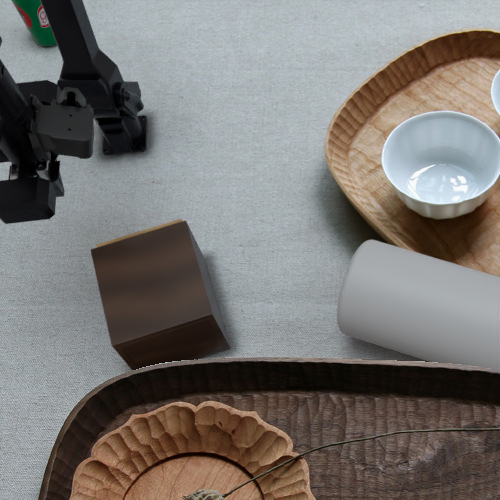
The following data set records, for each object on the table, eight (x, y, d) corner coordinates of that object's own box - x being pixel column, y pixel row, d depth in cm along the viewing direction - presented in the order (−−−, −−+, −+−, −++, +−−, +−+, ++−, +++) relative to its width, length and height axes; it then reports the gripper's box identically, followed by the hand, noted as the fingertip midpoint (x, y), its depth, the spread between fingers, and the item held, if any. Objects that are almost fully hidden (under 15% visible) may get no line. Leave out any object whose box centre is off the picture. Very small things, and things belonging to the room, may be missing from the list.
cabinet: (117, 287, 112) (90, 249, 103) (205, 260, 113) (185, 220, 104) (138, 378, 106) (111, 345, 98) (231, 348, 108) (212, 313, 99)
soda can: (59, 50, 130) (24, -14, 118) (30, 46, 130) (-8, -18, 119) (70, 27, 131) (36, -39, 120) (41, 23, 132) (5, -42, 121)
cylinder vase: (341, 349, 107) (523, 407, 102) (328, 303, 95) (533, 367, 91) (375, 271, 111) (552, 324, 107) (367, 218, 99) (565, 275, 95)
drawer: (116, 269, 112) (94, 236, 105) (195, 244, 113) (179, 211, 106) (137, 359, 107) (115, 331, 99) (221, 332, 108) (205, 303, 100)
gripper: (67, 166, 84) (121, 249, 99) (77, 33, 92) (126, 129, 106) (-39, 178, 84) (30, 259, 99) (-21, 44, 92) (41, 138, 106)
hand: (60, 194), depth 102 cm, fingers closed
